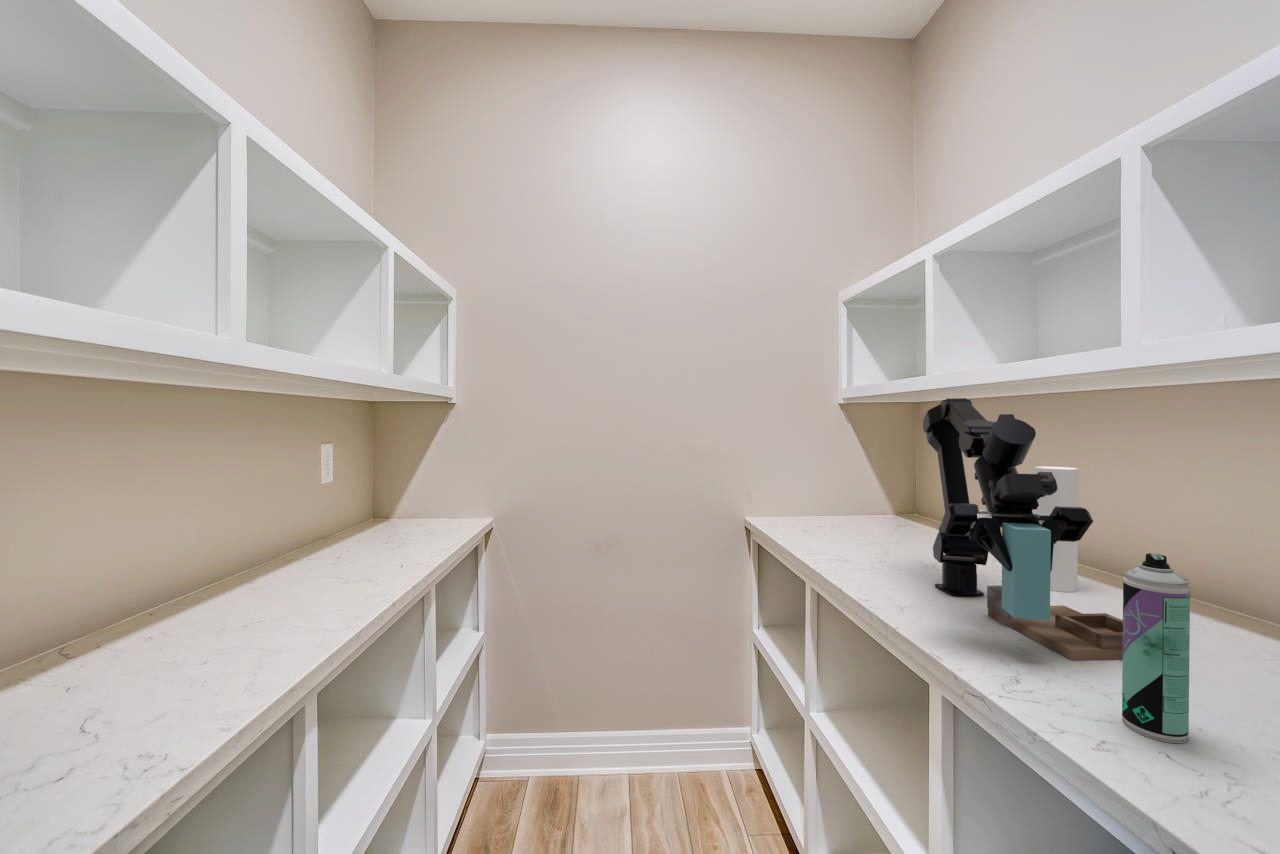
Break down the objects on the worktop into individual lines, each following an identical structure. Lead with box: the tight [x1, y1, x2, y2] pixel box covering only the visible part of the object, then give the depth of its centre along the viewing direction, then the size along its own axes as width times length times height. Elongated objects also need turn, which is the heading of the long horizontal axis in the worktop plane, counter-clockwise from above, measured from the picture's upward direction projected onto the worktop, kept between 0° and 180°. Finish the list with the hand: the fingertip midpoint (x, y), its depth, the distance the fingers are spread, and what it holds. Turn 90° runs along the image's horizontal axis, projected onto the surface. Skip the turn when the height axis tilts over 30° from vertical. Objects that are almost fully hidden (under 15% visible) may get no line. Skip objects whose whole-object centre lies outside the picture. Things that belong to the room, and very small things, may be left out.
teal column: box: [1001, 523, 1051, 621], centre depth 79 cm, size 4×4×13 cm
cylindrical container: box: [1034, 465, 1079, 593], centre depth 112 cm, size 7×7×25 cm
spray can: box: [1121, 552, 1191, 744], centre depth 61 cm, size 6×6×20 cm
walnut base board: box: [986, 584, 1123, 661], centre depth 87 cm, size 18×14×6 cm
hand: (1029, 570), depth 77 cm, fingers closed on teal column, 4 cm apart
